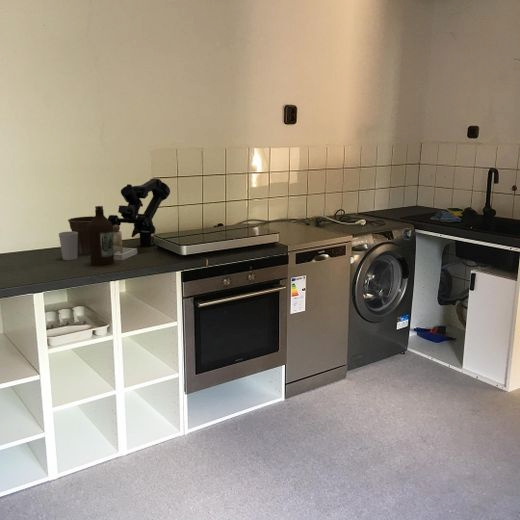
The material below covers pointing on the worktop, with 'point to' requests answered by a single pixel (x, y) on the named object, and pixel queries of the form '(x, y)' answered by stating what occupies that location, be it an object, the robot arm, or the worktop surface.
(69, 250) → the cup
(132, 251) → the bin
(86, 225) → the plant pot
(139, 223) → the robot arm
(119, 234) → the pepper mill
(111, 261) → the olive oil
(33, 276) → the worktop surface
